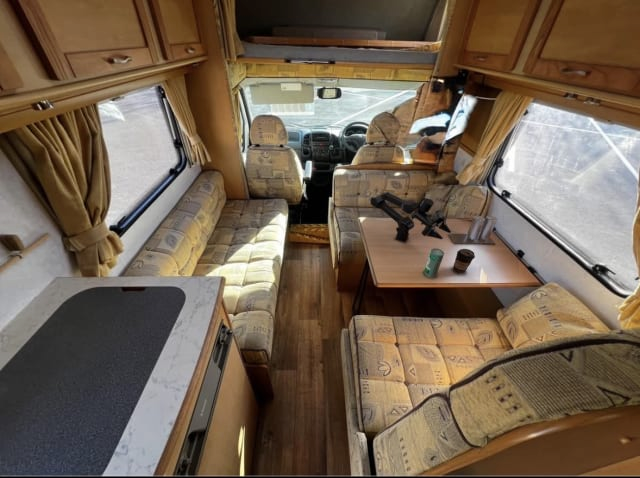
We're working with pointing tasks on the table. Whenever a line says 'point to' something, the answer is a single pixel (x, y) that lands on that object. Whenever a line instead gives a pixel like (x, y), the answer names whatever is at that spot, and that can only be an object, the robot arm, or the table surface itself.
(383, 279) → the table surface
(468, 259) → the coffee cup
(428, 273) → the can
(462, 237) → the dark grey flat slab
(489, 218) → the cans
